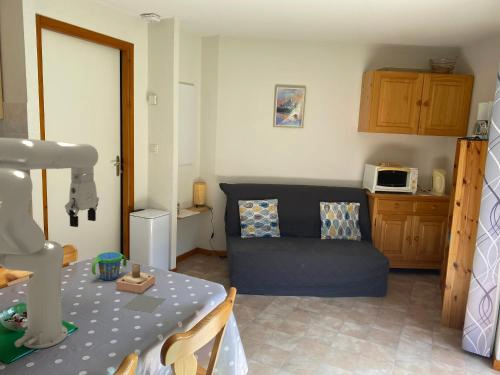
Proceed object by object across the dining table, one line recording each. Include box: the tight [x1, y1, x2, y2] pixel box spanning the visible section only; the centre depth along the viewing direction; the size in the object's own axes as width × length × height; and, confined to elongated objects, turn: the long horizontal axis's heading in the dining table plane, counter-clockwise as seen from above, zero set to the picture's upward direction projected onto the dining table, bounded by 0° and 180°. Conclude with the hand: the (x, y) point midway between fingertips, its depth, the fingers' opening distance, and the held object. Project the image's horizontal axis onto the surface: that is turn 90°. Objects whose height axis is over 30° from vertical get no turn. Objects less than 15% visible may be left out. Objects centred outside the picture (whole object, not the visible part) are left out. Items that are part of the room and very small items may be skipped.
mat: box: [122, 294, 167, 314], centre depth 145 cm, size 12×12×1 cm
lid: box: [123, 263, 148, 283], centre depth 158 cm, size 10×10×6 cm
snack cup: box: [91, 251, 128, 281], centre depth 167 cm, size 16×10×10 cm
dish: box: [115, 271, 156, 295], centre depth 158 cm, size 11×11×4 cm
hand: (83, 223), depth 141 cm, fingers open, 9 cm apart
